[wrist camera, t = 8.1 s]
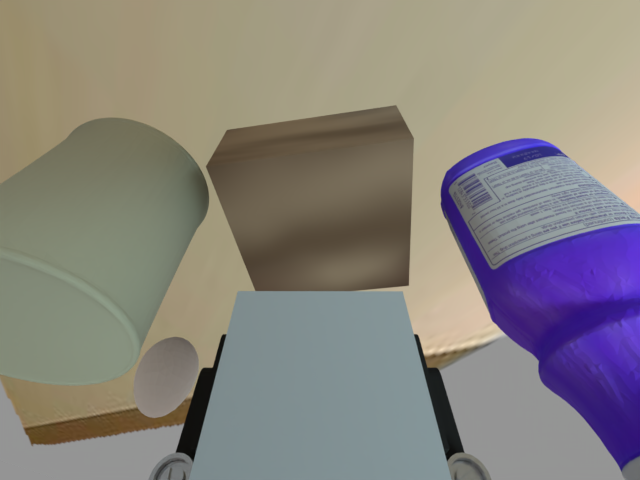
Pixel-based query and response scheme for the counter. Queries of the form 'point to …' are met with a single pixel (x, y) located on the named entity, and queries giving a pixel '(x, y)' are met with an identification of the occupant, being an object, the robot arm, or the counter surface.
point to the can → (92, 250)
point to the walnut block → (320, 200)
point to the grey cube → (320, 392)
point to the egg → (165, 376)
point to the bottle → (557, 277)
